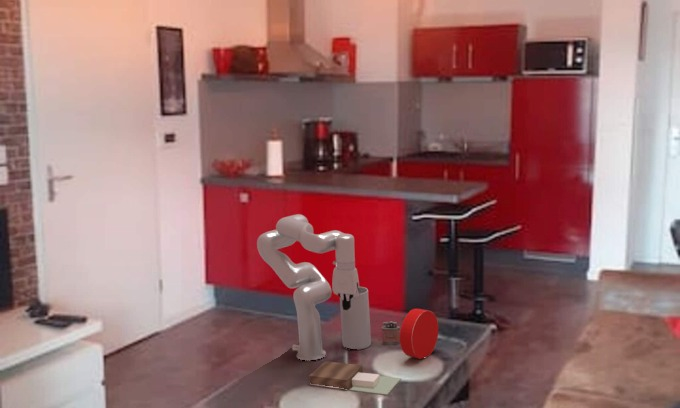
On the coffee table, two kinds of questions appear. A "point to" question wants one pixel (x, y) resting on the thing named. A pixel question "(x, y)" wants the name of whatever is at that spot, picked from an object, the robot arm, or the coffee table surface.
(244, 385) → the coffee table surface
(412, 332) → the toy clock
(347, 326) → the cylinder vase
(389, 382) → the mat
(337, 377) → the plate
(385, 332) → the lighter
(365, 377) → the tile
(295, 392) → the coffee table surface
